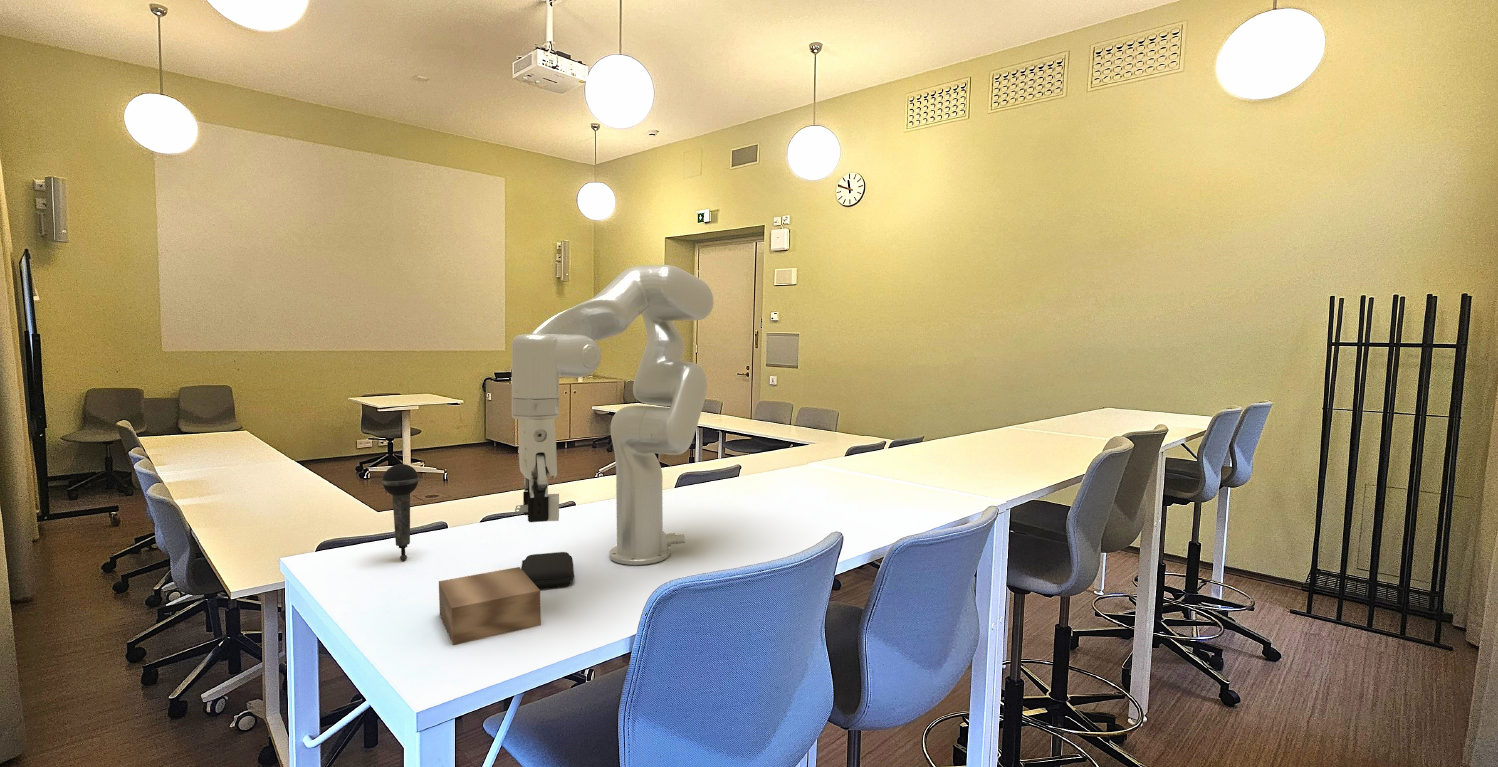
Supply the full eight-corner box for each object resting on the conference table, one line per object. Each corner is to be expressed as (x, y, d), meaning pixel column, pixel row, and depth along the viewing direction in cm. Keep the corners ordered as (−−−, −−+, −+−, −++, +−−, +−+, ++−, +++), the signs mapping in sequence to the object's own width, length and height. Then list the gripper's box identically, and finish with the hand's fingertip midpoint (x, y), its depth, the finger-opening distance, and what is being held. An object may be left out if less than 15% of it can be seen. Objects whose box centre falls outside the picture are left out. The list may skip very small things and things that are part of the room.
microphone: (424, 562, 137) (421, 465, 136) (386, 568, 133) (383, 468, 132) (419, 553, 143) (416, 459, 141) (382, 559, 139) (379, 463, 138)
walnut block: (520, 600, 118) (519, 566, 118) (540, 626, 108) (540, 590, 107) (439, 616, 112) (438, 581, 111) (453, 646, 101) (452, 607, 100)
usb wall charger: (558, 521, 112) (558, 497, 112) (514, 523, 110) (514, 499, 110) (558, 515, 116) (558, 492, 115) (516, 518, 114) (516, 494, 114)
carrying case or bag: (517, 567, 135) (513, 595, 121) (517, 553, 135) (512, 578, 121) (572, 563, 138) (574, 589, 124) (572, 548, 138) (574, 572, 124)
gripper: (568, 412, 106) (568, 527, 107) (550, 404, 121) (550, 505, 122) (518, 413, 103) (518, 532, 103) (505, 405, 118) (506, 508, 119)
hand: (535, 516), depth 113 cm, fingers closed on usb wall charger, 4 cm apart
